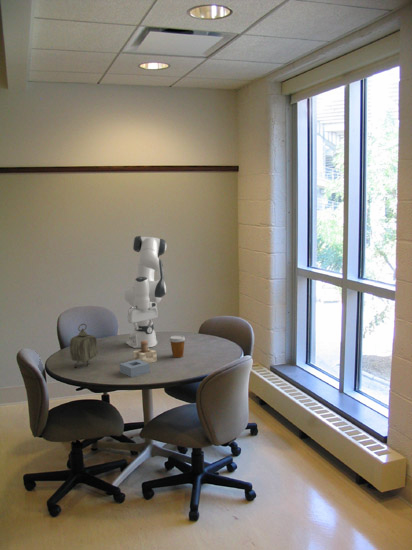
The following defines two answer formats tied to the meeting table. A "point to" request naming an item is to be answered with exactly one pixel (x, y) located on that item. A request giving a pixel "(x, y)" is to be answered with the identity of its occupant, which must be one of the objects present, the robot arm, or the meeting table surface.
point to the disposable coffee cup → (177, 345)
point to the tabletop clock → (83, 347)
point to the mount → (145, 356)
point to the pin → (144, 346)
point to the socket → (134, 368)
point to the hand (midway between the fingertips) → (143, 328)
